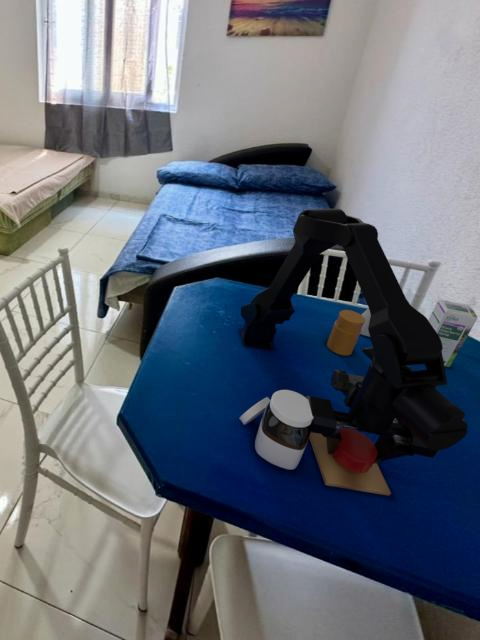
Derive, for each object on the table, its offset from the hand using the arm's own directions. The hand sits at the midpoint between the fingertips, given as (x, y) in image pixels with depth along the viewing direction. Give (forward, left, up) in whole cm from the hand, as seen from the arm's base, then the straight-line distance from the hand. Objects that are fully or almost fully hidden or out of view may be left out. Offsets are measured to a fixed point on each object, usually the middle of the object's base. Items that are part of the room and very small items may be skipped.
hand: (349, 456), depth 71 cm
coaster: (0, 0, -2) cm, 2 cm away
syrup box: (+31, +34, -2) cm, 46 cm away
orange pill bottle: (+10, +33, -2) cm, 35 cm away
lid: (0, 0, 0) cm, 0 cm away
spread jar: (-13, +2, -2) cm, 13 cm away
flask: (+20, +42, -2) cm, 47 cm away
